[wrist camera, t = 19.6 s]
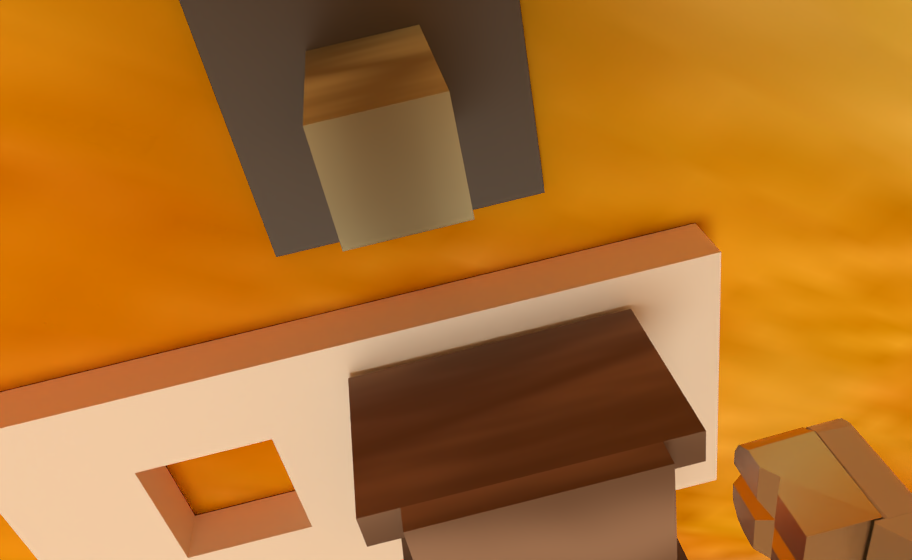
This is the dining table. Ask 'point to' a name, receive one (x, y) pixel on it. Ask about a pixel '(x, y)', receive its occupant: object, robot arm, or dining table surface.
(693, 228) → the puzzle board
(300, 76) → the mat
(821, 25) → the dining table surface
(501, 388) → the cover
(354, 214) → the block
